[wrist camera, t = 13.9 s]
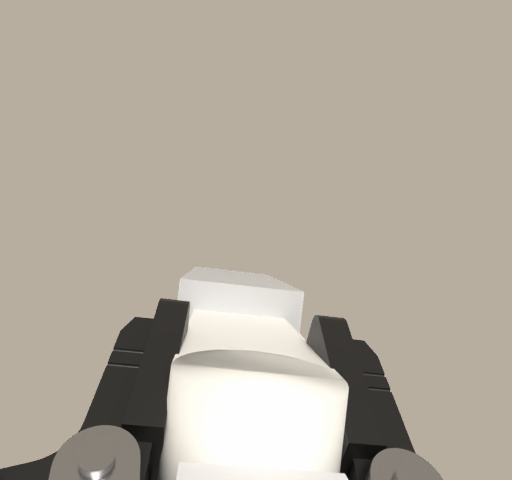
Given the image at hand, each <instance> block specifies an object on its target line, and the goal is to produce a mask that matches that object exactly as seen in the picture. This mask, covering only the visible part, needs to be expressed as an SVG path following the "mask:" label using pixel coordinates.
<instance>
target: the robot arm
mask: <svg viewBox="0 0 512 480" xmlns="http://www.w3.org/2000/svg"><path fill="white" fill-rule="evenodd" d="M189 312H190V301H181V300H171V299H160V301H159V303H158V307H157V310H156V314H155V317H154V319H150V318H140V317H135V318H134V319H133V320H132V321H130V322H129V323H128V324H127V325H126V326H125V327H124V328H123V329H122V330H121V331H120V333H119V336H118V338H117V341H116V343H115V346H114V350H113V352H112V353H111V356H110V358H109V361H108V365H107V366H106V368H105V371H104V373H103V376H102V379H101V381H100V383H99V386H98V388H97V391H96V394H95V396H94V399H93V401H92V403H91V406H90V408H89V411H88V413H87V416H86V418H85V421H84V423H83V425H82V427H81V429H80V430H79V432H78V433H77V434H75V435H73V436H72V437H71V438H70V439H68V440H67V441H66V442H65V443H64V444H63V445H62V446H61V448H60V449H59V450H58V451H57V452H55V453H53V454H52V455H50V456H47V457H45V458H43V459H40V460H37V461H33V462H29V463H25V464H20V465H16V466H12V467H7V468H3V469H0V480H157V476H158V467H159V462H160V458H161V453H162V450H163V444H164V436H165V428H166V420H167V394H168V386H169V378H170V370H171V364H172V361H173V359H174V356H175V354H179V353H180V350H181V348H182V345H183V342H184V340H185V337H186V334H187V332H188V323H189ZM306 343H307V344H308V345H309V346H310V347H311V348H312V349H313V350H314V352H315V353H316V354H317V355H318V356H319V357H320V358H321V359H322V360H323V361H324V362H325V363H326V364H327V365H328V366H329V367H330V368H331V369H335V370H336V372H337V373H338V374H339V375H340V376H341V377H342V378H343V379H344V380H345V381H346V382H347V383H348V386H349V392H348V401H347V410H346V420H345V429H344V439H343V448H342V457H341V467H340V473H345V475H346V476H347V478H348V480H443V479H442V478H441V476H440V474H439V473H438V472H437V471H436V469H435V468H434V467H433V466H432V465H431V464H430V463H429V462H427V461H426V460H425V459H423V458H422V457H420V456H418V455H417V454H416V453H415V451H414V449H413V446H412V444H411V441H410V438H409V436H408V433H407V431H406V429H405V426H404V423H403V421H402V418H401V415H400V413H399V410H398V407H397V405H396V403H395V400H394V397H393V395H392V393H391V392H390V387H389V384H388V382H387V379H386V378H385V377H384V371H383V369H382V366H381V364H380V361H379V359H378V356H377V355H376V354H375V353H374V352H373V350H372V349H371V348H370V347H369V346H368V345H367V344H366V342H365V341H361V340H353V339H352V337H351V333H350V330H349V327H348V324H347V321H346V320H345V319H344V318H337V317H328V316H319V315H315V316H314V318H313V320H312V324H311V328H310V331H309V335H308V338H307V342H306Z"/></svg>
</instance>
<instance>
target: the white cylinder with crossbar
mask: <svg viewBox="0 0 512 480" xmlns="http://www.w3.org/2000/svg"><path fill="white" fill-rule="evenodd" d="M303 299H304V292H303V291H301V290H299V289H297V288H294V287H292V286H290V285H288V284H286V283H284V282H282V281H280V280H278V279H276V278H274V277H272V276H270V275H267V274H258V273H249V272H240V271H232V270H223V269H214V268H205V267H195V268H194V269H193V270H191V271H190V272H188V273H187V274H186V275H184V276H183V277H182V278H180V285H179V292H178V300H181V301H190V312H189V323H188V332H187V334H186V337H185V340H184V342H183V345H182V348H181V350H180V353H179V354H175V356H174V359H173V361H172V364H171V370H170V378H169V386H168V394H167V420H166V428H165V436H164V444H163V450H162V453H161V458H160V462H159V467H158V476H157V480H348V478H347V476H346V475H345V473H340V467H341V457H342V448H343V439H344V429H345V420H346V410H347V401H348V392H349V386H348V383H347V382H346V381H345V380H344V379H343V378H342V377H341V376H340V375H339V374H338V373H337V372H336V370H335V369H331V368H330V367H329V366H328V365H327V364H326V363H325V362H324V361H323V360H322V359H321V358H320V357H319V356H318V355H317V354H316V353H315V352H314V350H313V349H312V348H311V347H310V346H309V345H308V344H307V343H306V342H307V341H306V340H305V339H304V338H303V337H302V336H301V335H300V325H301V317H302V308H303Z"/></svg>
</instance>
